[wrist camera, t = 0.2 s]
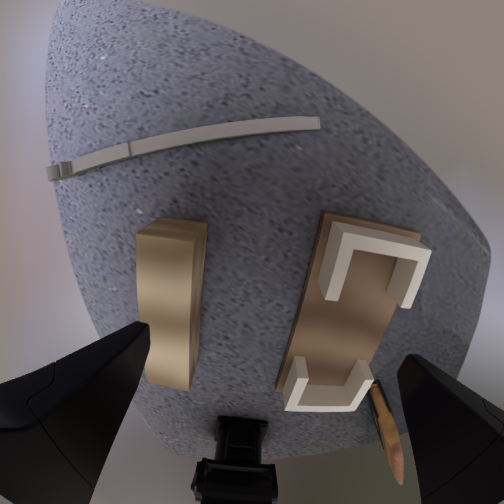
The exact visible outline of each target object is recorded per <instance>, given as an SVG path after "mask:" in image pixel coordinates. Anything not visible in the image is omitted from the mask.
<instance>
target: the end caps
mask: <svg viewBox="0 0 504 504" xmlns="http://www.w3.org/2000/svg"><path fill="white" fill-rule="evenodd" d="M354 249H356V250H362V251H367V252H373V253H378V254H384V255H389V256H394V257H398V259H397V262H396V265H395V268H394V271H393V274H392V277H391V280H390V283H389V285H388V288H387V291H388V292H389V294H390V295H391V296H392V297H393V299H394V300H395V301H396V302H397V304H398V305H399V306H400V308H409V309H410V308H411V305H412V303H413V301H414V298H415V296H416V293H417V291H418V288H419V286H420V283H421V280H422V278H423V275H424V272H425V269H426V266H427V264H428V261H429V258H430V255H431V251H432V250H430V249H429V248H427V247H426V246H424V245H423V244H421V243H420V242H418V241H417V240H415V239H414V238H410V237H406V236H401V235H397V234H392V233H388V232H383V231H379V230H374V229H370V228H365V227H360V226H355V225H350V224H345V223H340V222H335V221H332V225H331V229H330V234H329V238H328V242H327V246H326V250H325V254H324V258H323V262H322V266H321V269H320V273H319V277H318V284H319V286H320V289H321V291H322V294H323V296H324V299H325V300H331V301H338V299H339V296H340V293H341V290H342V287H343V284H344V281H345V277H346V274H347V271H348V267H349V264H350V260H351V257H352V253H353V250H354ZM308 380H309V377H308V371H307V366H306V360H305V357H304V356H294V359H293V362H292V365H291V368H290V371H289V374H288V377H287V379H286V382H285V385H284V388H283V397H284V411H301V412H348V411H355V410H356V408H357V407H358V405H359V404H360V402H361V400H362V399H363V397H364V396H365V394H366V393H367V391H368V389H369V388H370V386H371V384H372V383H373V381H374V378H373V376H372V373H371V371H370V368H369V366H368V364H367V362H366V360H360V359H357V361H356V363H355V365H354V367H353V369H352V371H351V373H350V375H349V377H348V379H347V381H346V382H345V384H344V386H329V385H306V384H307V382H308Z"/></svg>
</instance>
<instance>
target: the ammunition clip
mask: <svg viewBox="0 0 504 504" xmlns="http://www.w3.org/2000/svg"><path fill="white" fill-rule="evenodd" d="M367 396H368V399H369V403H370V407H371V410H372V414H373V418H374V422H375V425H376V429H377V432H378V435H379V438H380V441H381V444H382V447H383V449H384V450H385V454H386V457H387V460H388V463H389V464H390V466H391V468H392V471H393V474H394V476H395V479H396V480H397V482H398V483H399V484H400V485H402V484H403V467H404V464H403V462H404V459H403V451H402V447H401V444H400V440H399V436H398V430H397V427H396V425H395V422H394V419H393V415H392V410H391V408H390V405H389V403H388V400H387V398H386V395H385V393H384V390H383V388H382V386H381V383H380V381H379V380H378V381H376V382H373V383H372V384H371V386H370V388H369V389H368V391H367Z"/></svg>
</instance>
